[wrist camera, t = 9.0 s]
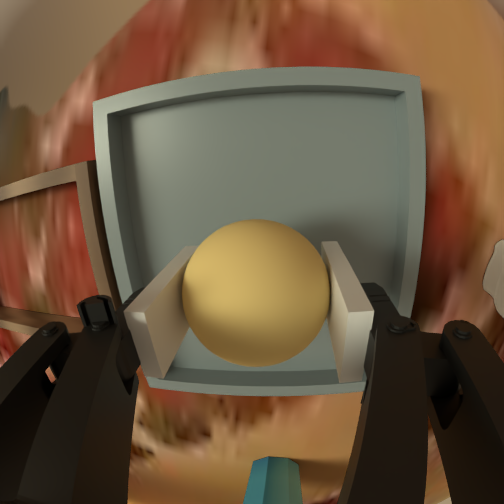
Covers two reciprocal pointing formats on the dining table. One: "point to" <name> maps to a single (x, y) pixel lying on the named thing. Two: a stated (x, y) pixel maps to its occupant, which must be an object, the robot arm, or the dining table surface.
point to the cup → (274, 482)
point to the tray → (266, 190)
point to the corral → (94, 237)
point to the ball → (256, 293)
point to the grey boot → (496, 277)
